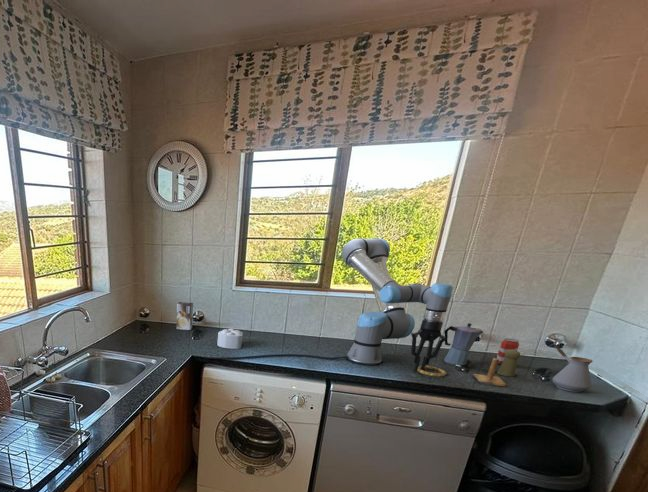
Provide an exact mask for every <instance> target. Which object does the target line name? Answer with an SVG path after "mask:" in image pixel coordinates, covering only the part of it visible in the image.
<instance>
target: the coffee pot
mask: <svg viewBox="0 0 648 492" xmlns="http://www.w3.org/2000/svg"><path fill="white" fill-rule="evenodd" d="M552 346H553V348H554V349H556V350H557V352H558V353H559V354H560V355H561V356H562V358H564V359H565V360H566V361H567V362H568V364H566V366H565V367H564V368H563V369H561V370H560V371H558V373H556V374H555V375H554V376H553V377H552V383H553V384H554V385H555V386H556V387H557V388H558V389H560V390H562V391H568V392H573V393H582V392H584V391H587V390H589V389H590V388H592V379H591V374H590V368H589V365H590V364H591V363H593V360H592V359H590V358H587V357H581V356H570V357H568V356H567V354H566V353H565V352H564V351H563V349H562V348H560V347H559V345H557V344H556V343H552V344H550V345H549V347H552Z"/></svg>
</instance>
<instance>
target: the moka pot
mask: <svg viewBox="0 0 648 492" xmlns="http://www.w3.org/2000/svg"><path fill="white" fill-rule="evenodd" d="M472 326H473V324H472V323H467V325H466V326H453V325H450V326H448V327H447V328H445V329H444V331H443V332H444V336H445V337H446V338H447V339H446V340H445V341H444V345H445V346H449V347H450V346H451V347H450V348H449V350H448V352H447V354H446V356H445V357H444V359H443V362H445V363H448V364H451V365H454V366H455V365H456V366H466V365H467V362H468V358H469V354H470V352H471V348H472V347H473V345H474V343H475V341H476V339H478V337H480V336H481V335H482V334H483V333H484V331H482V329H478V328H474V327H472ZM449 331H452V332H454V335H453V340H452V344H451V343H449V342H448V340H449V339H448V338H449V336H448V335H449V333H448V332H449Z"/></svg>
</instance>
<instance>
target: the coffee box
mask: <svg viewBox="0 0 648 492" xmlns="http://www.w3.org/2000/svg"><path fill="white" fill-rule="evenodd" d="M193 308H194V303H193V302H186V301H179V302H177V304H176V330H182V331H191V330H192V329H193V316H194V315H193V313H194V309H193Z"/></svg>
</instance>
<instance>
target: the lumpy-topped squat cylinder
mask: <svg viewBox="0 0 648 492" xmlns="http://www.w3.org/2000/svg"><path fill="white" fill-rule="evenodd" d="M243 333H244V332H243V331H240V330H239V329H234V328H224V329H222V330H220V331H218V333H217V344H216V345H217V346H218V347H220V348H224V349H231V350H240V349H242V347H243V346H242V345H243V344H242V343H243Z"/></svg>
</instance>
